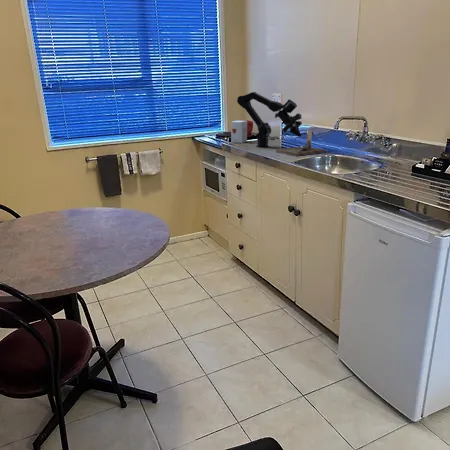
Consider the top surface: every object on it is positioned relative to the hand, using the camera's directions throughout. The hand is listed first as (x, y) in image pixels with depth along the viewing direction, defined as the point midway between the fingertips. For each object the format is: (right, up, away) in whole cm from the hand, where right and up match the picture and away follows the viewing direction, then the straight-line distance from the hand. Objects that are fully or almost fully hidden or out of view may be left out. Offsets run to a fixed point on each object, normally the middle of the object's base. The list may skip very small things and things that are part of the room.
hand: (300, 136), depth 272 cm
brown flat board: (-1, -11, -5) cm, 12 cm away
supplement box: (-38, +4, +39) cm, 55 cm away
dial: (+1, -10, -7) cm, 12 cm away
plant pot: (-33, +13, +66) cm, 75 cm away
